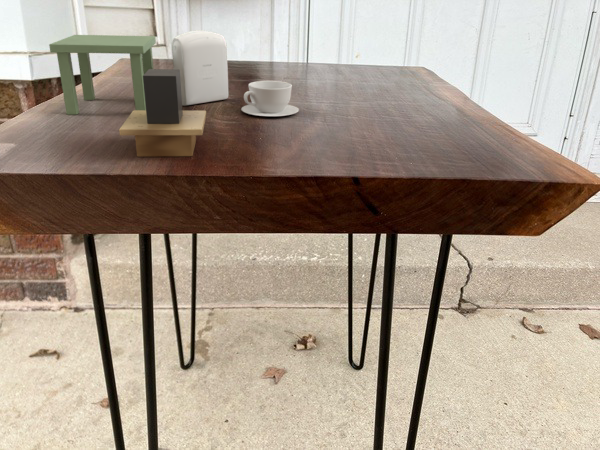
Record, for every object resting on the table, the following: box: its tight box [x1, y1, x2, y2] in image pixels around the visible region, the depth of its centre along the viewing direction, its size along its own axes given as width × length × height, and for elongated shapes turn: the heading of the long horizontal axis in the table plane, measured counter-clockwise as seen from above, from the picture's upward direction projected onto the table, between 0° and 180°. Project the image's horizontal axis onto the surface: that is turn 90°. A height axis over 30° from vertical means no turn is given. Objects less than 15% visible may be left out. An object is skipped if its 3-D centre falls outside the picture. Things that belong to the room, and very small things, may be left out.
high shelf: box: [48, 34, 157, 116], centre depth 90 cm, size 14×14×11 cm
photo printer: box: [171, 29, 229, 107], centre depth 95 cm, size 10×4×12 cm, turn 133°
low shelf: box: [118, 109, 207, 158], centre depth 70 cm, size 10×10×4 cm
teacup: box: [240, 80, 300, 117], centre depth 91 cm, size 10×10×5 cm
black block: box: [143, 68, 184, 124], centre depth 68 cm, size 4×5×6 cm
